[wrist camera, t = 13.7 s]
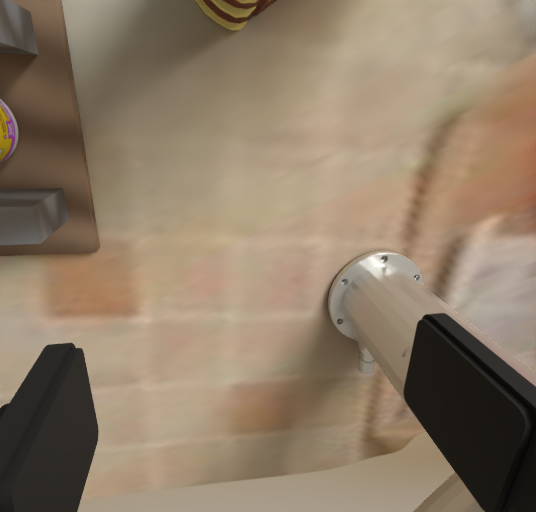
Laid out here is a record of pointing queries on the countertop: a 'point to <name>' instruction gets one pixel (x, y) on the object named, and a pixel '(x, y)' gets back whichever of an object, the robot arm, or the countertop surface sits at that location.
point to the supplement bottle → (7, 132)
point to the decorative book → (233, 11)
